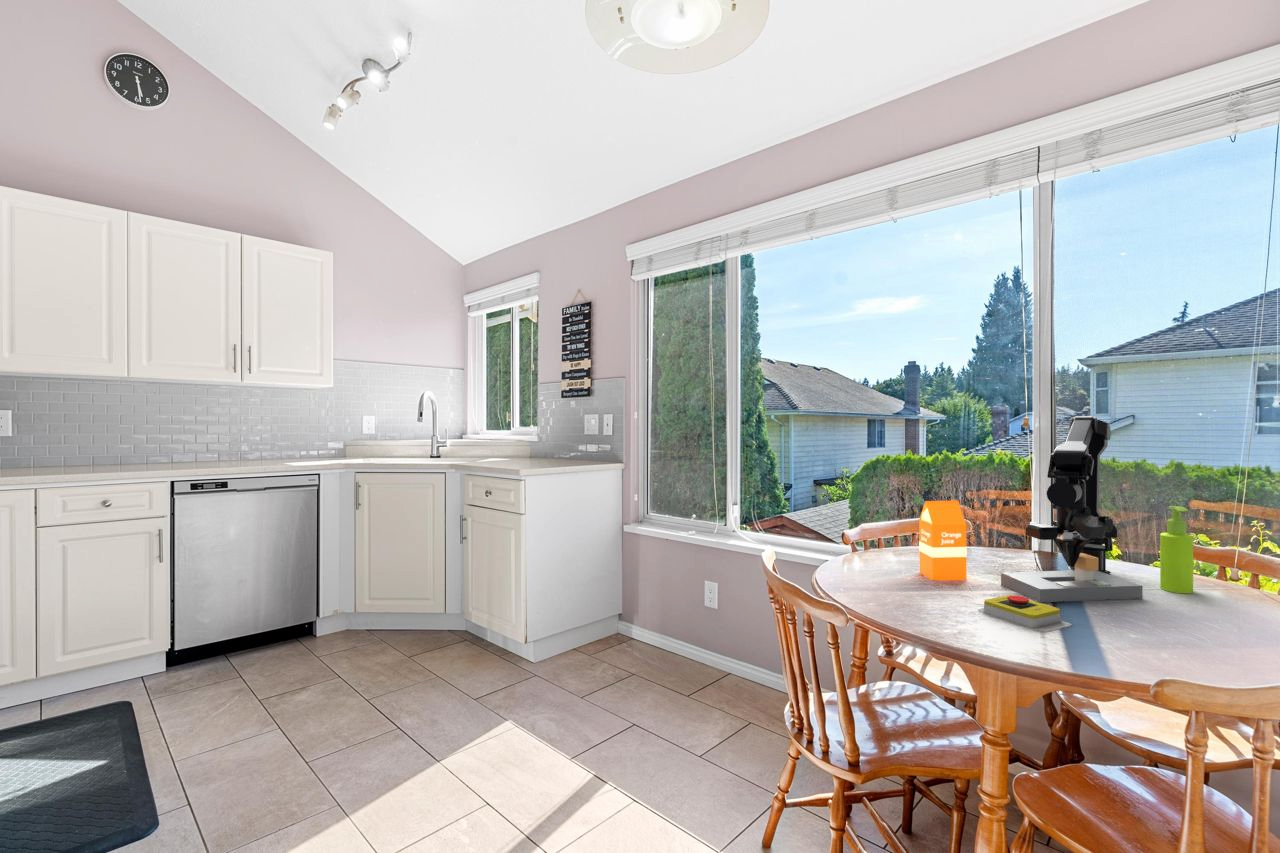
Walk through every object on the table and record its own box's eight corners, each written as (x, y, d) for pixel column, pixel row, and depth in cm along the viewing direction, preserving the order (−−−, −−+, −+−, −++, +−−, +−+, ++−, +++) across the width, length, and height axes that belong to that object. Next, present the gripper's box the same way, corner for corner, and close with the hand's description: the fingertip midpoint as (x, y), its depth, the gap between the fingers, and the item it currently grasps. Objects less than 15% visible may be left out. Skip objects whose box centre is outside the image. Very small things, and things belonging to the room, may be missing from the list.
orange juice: (967, 580, 156) (966, 502, 156) (932, 580, 156) (931, 503, 156) (951, 571, 164) (951, 498, 164) (919, 572, 164) (918, 498, 164)
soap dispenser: (1168, 593, 142) (1168, 508, 141) (1155, 585, 148) (1156, 503, 148) (1200, 595, 140) (1200, 509, 139) (1186, 587, 146) (1186, 504, 146)
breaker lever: (1082, 582, 148) (1082, 552, 148) (1098, 588, 143) (1098, 557, 143) (1070, 582, 148) (1070, 553, 148) (1086, 588, 143) (1085, 558, 143)
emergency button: (1004, 587, 137) (1074, 606, 123) (1004, 606, 137) (1074, 627, 123) (975, 592, 133) (1043, 613, 120) (975, 612, 133) (1043, 635, 120)
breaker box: (1094, 581, 153) (1094, 568, 152) (1142, 598, 139) (1142, 584, 139) (1001, 584, 152) (1000, 571, 152) (1040, 602, 138) (1039, 588, 138)
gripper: (1056, 508, 136) (1057, 577, 137) (1137, 505, 137) (1137, 574, 137) (1023, 500, 147) (1024, 564, 148) (1098, 498, 148) (1098, 562, 148)
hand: (1071, 566), depth 145 cm, fingers closed
